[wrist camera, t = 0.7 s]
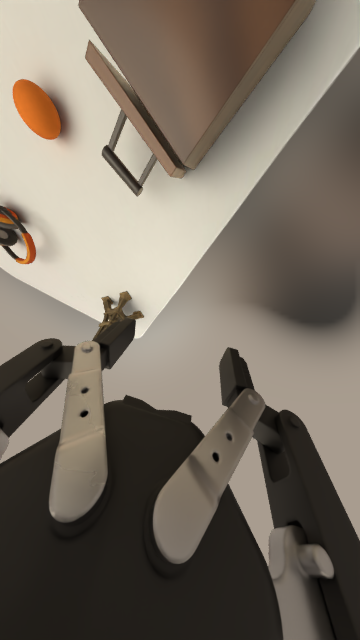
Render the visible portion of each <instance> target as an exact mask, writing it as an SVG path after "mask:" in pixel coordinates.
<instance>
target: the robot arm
mask: <svg viewBox="0 0 360 640" xmlns="http://www.w3.org/2000/svg"><path fill="white" fill-rule="evenodd" d="M135 325H136V320H135V319H131V318H128V317H126V318H125V319H124V320H122V321H121V322H120V321H117V322H115V323H113V324H111V325H110V326H109V327H108V328H107V329H105V331H103V332H102V333H101V334H100V335H98V336H97V337H96V338H95V339H94V340H93V341H85V342H82V343H80V344H78V345H77V346H62V342H61V341H60V340H59V339H54V338H53V339H52V338H50V339H44V340H41V341H39V342H37V343H35V344H34V345H32V346H31V347H29V348H27V349H26V350H24V351H23V352H21V353H20V354H18V355H16V356H15V357H13V358H12V359H10V360H9V361H7V362H5V363H4V364H2V365H1V366H0V459H1V458H2V455H3V453H4V452H5V450H6V449H7V446H8V444H9V437H10V436H11V435H12V433H14V432H15V431H16V429H17V428H18V427H19V426H20V425H21V424H22V423H23V422H24V421H25V420H26V419H27V418H28V417H29V416H30V415H31V414H32V413H33V412H34V411H35V410H36V409H37V407H38V406H39V405H40V404H41V403H42V402H43V401H44V400H45V399H46V398H47V397H48V396H49V395H50V394H51V393H52V392H53V391H54V390H55V389H56V388H57V387H58V386H59V385H60V384H61V383H62V381H63V380H64V379H68V383H67V390H66V397H65V405H64V412H63V420H62V427H61V429H60V430H58V431H56V432H54V433H53V434H51V435H49V436H48V437H46V438H44V439H42V440H41V441H39V442H37V443H36V444H34V445H32V446H30V447H28V448H27V449H25V450H23V451H21V452H20V453H18V454H16V455H15V456H13V457H11V458H9V459H8V460H6V461H4V462H2V463H1V464H0V640H360V541H359V539H358V537H357V534H356V532H355V530H354V528H353V526H352V524H351V521H350V519H349V517H348V515H347V513H346V511H345V509H344V507H343V505H342V503H341V501H340V498H339V496H338V494H337V492H336V490H335V488H334V486H333V484H332V481H331V479H330V477H329V475H328V473H327V471H326V469H325V467H324V465H323V462H322V460H321V458H320V456H319V454H318V452H317V450H316V448H315V445H314V443H313V441H312V439H311V437H310V435H309V433H308V431H307V428H306V427H305V425H304V423H303V422H302V421H301V419H300V418H299V417H298V416H296V415H295V414H294V413H292V412H290V411H288V410H282V411H280V412H277V411H275V410H274V409H272V408H270V407H269V406H267V405H265V402H264V400H263V398H262V397H261V396H260V395H259V394H258V393H257V392H256V391H255V390H254V386H253V383H252V380H251V376H250V374H249V370H248V367H247V363H246V362H245V361H244V359H243V358H241V357H240V356H239V353H238V350H236V349H233V348H229V347H228V348H227V349H226V351H225V353H224V355H223V357H222V359H221V361H220V365H219V370H220V382H221V395H222V405H224V406H227V407H228V409H227V410H226V412H225V413H224V414H223V415H222V416H221V418H220V419H219V420H218V421H217V423H216V424H215V425H214V426H213V428H212V429H211V430H210V431H209V432H208V434H207V435H206V436H204V434H203V433H202V432H201V430H200V429H199V428H198V427H197V426H196V425H195V424H193V423H192V422H191V415H187V414H184V413H181V412H178V411H172V410H156V409H154V408H153V407H152V406H150V405H149V404H147V403H146V402H144V401H142V400H140V399H137V398H134V397H131V396H127V395H126V396H125V397H124V399H123V400H117V401H112V402H108V403H106V404H104V398H103V384H102V370H104V368H107V369H111V368H112V366H113V365H114V364H115V363H116V361H117V360H118V359H119V357H120V356H121V355H122V354H123V352H124V351H125V350H126V348H127V347H128V346H129V344H130V343H131V342H132V340H133V338H134V335H135ZM40 371H41V372H40ZM39 372H40V373H39ZM37 373H38V374H37ZM36 374H37V375H36ZM35 375H36V376H35ZM34 376H35V377H34ZM33 377H34V378H33ZM31 378H33V379H31ZM30 379H31V380H30ZM29 380H30V381H29ZM28 381H29V382H28ZM27 382H28V383H27ZM252 437H253V438H255V439H256V440H257V441H258V447H259V452H260V457H261V462H262V468H263V473H264V478H265V483H266V488H267V494H268V499H269V504H270V509H271V514H272V519H273V525H274V529H273V530H272V531H271V533H270V536H269V566H267V563H266V561H265V559H264V556H263V554H262V552H261V550H260V548H259V546H258V544H257V542H256V540H255V538H254V536H253V534H252V532H251V530H250V527H249V526H248V524H247V521H246V519H245V517H244V515H243V513H242V511H241V509H240V507H239V505H238V503H237V501H236V499H235V497H234V494H233V492H232V490H231V489H230V486H229V484H228V482H229V480H230V478H231V476H232V474H233V473H234V471H235V469H236V467H237V465H238V463H239V461H240V459H241V457H242V455H243V453H244V451H245V450H246V448H247V446H248V444H249V442H250V440H251V438H252Z"/></svg>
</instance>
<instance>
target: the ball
mask: <svg viewBox="0 0 360 640" xmlns="http://www.w3.org/2000/svg"><path fill="white" fill-rule="evenodd" d="M13 99H14V103H15V106H16V108H17V110H18V112H19V114H20V116H21V118H22V119H23V120H24V122H25V123H26V124H27V126H28V127H29V128H30V129H31V130H32V131H33V132H35V133H36V134H37V135H39V136H41V137H42V138H45V139H49V140H52V139H55V138H57V137H58V135H59V134H60V130H61V123H60V118H59V115H58V112H57V110H56V108H55V106H54V104H53V102H52V101H51V99H50V98H49V97H48V95H47V94H46V93H45V92H44V91H43V90H42V89H41V88H40V87H39V86H38V85H36V84H35V83H33V82H31V81H29V80H25V79H21V80H18V81H17V82H16V83H15V84H14V86H13Z"/></svg>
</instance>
